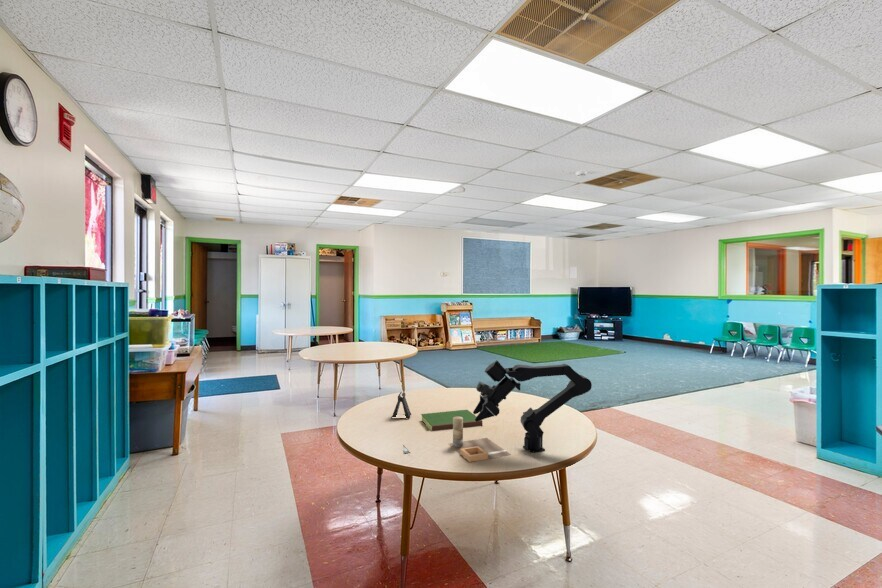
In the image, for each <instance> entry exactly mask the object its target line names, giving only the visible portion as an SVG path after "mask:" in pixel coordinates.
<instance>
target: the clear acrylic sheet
mask: <svg viewBox="0 0 882 588" xmlns="http://www.w3.org/2000/svg"><path fill="white" fill-rule="evenodd" d="M448 445H449V446H450V447H451V448H452V450H454V451H455V452H456V453H458V454H459V455H460V456H461V457H463V456H462V455H461V454H460V449H463V448H469V447H475V446H479V447H480V448H481V449H483V450H484V451H485V452H487V453H488V459H484V460H483V461H485V460H489V459H490V460H491V459H496V458H501V457H507V456H511V455H512V454H511V453H510V452H508V451H507V450H506V449H504V448H503V447H501V446H500V445H498V444H497V443H495V442H494V441H492V440H491V439H490V438H488V437H484V438H478V439H470V440H463V446H462V447H454V446H453V442H452V443H451V442H450V443H448ZM474 454H478V453H471V454H470V455H474ZM463 458H464V460H466V462H468V463H470V462H469V461H468V460H467V459H466V458H465V457H463ZM479 461H481V460H478V461H477V462H479ZM473 462H476V461H472V462H471V463H473Z"/></svg>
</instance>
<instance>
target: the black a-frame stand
mask: <svg viewBox="0 0 882 588" xmlns="http://www.w3.org/2000/svg"><path fill="white" fill-rule="evenodd" d="M401 404H402V408H403V411H404V412H403V413H404V415H405V416H406V418H410V419H411V417H410V415H411V416H412V413H411V411H410V408H409V404H408V402H407V399H406V393H405V392H404V391H401V392H399V394H398V395H397V402H396V405H395V406H394V407H395V408H394V410H393V413H392V415H391V418H392V417H396V415H397V414H398V412H399V408H400V405H401Z"/></svg>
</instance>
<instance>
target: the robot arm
mask: <svg viewBox="0 0 882 588" xmlns="http://www.w3.org/2000/svg"><path fill="white" fill-rule="evenodd" d="M484 373H485V374H486V375H487V376H489V378H491V380H492V381H493V382H498V383H497V384H496V385H492V386H490V385H489V384H486V383H484V382H482V381H478V383H477V386H476V388H475V389H476V391H477V392H479V393H480V394H479V401H478V403H477V405H476V406H475V408H474V410H473V411H472V414H474V415H476V414H477V415H476V416H477V417H476V418H475V421H476V422H477V421H480V420H482V421H483V420H486V419H489V418H493V417H497V416H498V415H499V414H500V408H499V406H500V403H501V402H502V401H503V400H505V401H506V399H507V396H508V395H509V394H510V393H511V392H512V391H513V390H514V389H517V390H518V391H521V383H522V382H526V381H530V380H532V379H534V378H535V379H536V378H543V377H554V376H555V377H556V376H565V377H566V378H568V379H569V382H568V383H567V385H566V386H565V388H564V389H562V390H561V391H560V392H558V393H556V395H554V396H552V397H551V398H550V399H549V400H548V401H546V402H545V403H543V404H542V405H541V406H539V407H538V408H536V409H533V408H532V407H529V408H528V409H527V410H526V411H524V412H522V415H521V417H520V424H521V425H522V428H523V429H524V430H525V431H526V432H524V439H523V440H524V441H523V443H524V444H523V445H522V448H523V449H525V450H527V451H529V452H530V453H537V452H544V451H545V450H546V448H545V447H543V441H544V440H543V436H544V433H545V432H544V430H543V429H542V428H541V426H542V424H543V423H544V421H545V419H546V418H548V417H549V416H550V415H552V414H553V413H554V412H556V411H557V410H559V409H560V408H561V407H562V406H564V405H565V404H567V403H568V402H569V401H571V400H572V399H573V398H575V397H576V398H577V397H580V396H582V395H585V394H586V393H588V392H589V391H591V390H592V386H593V384H592V381H591V380H590V379H589V378H587V377H586V376H584V375H582V374H579V373H578V372H576V370H574V369H573V368H572V367H571V366H570V365H568V364H567V363H562V364H553V365H550V364H549V365H541V366H540V365H539V366H538V365H537V366H533V365H526V364H515V365H514V366H513V367H507V368H505V367H504V366H503V365H502V364H501V363H500V362H499V361H498V360H495V361H493V362H492V363H490V364H489V365H488V366H487V367H486V368H485V369H484ZM520 382H521V383H520Z"/></svg>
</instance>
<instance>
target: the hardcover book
mask: <svg viewBox="0 0 882 588" xmlns="http://www.w3.org/2000/svg"><path fill="white" fill-rule="evenodd" d="M420 415H421V422H422V421H423V422H424V423H425V424H426V425H425V424H424V423H423V422H422V423H423V424H424V425H425V426H426V428H427V429H428V430H429V429H430V430H431V432H434V431H444V430H445V431H446V430H450V429H451V430H453V417H463V428H472V427H479V426H480V427H483V420H480V421H477V422H476V421H475V418H476V417H477V416H478V415H476V414H474V413H473V412H471V411H470V410H469V409H460V410H450V411H449V410H447V411H440V412H439V411H438V412H437V411H436V412H428V413H420ZM430 430H429V431H430Z"/></svg>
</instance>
